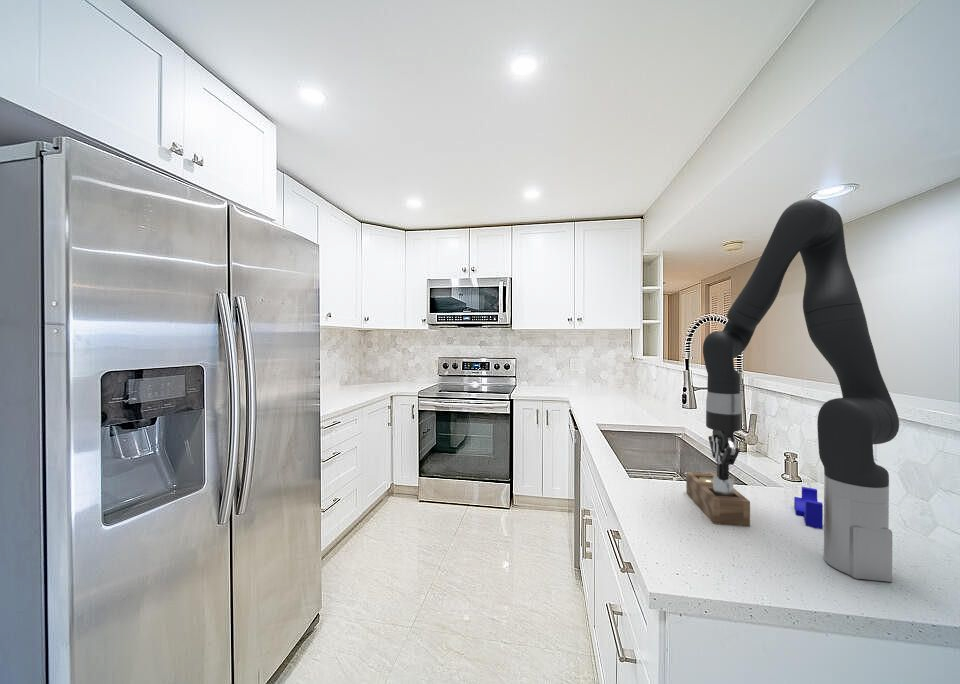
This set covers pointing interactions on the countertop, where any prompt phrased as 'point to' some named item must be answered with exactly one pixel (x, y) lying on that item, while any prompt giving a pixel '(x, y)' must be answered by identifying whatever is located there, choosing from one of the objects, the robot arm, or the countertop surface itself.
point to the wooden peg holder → (718, 502)
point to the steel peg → (722, 487)
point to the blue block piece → (809, 508)
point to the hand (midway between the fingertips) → (722, 478)
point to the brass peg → (706, 479)
